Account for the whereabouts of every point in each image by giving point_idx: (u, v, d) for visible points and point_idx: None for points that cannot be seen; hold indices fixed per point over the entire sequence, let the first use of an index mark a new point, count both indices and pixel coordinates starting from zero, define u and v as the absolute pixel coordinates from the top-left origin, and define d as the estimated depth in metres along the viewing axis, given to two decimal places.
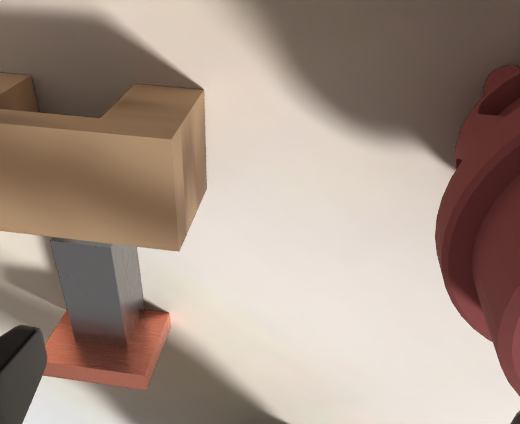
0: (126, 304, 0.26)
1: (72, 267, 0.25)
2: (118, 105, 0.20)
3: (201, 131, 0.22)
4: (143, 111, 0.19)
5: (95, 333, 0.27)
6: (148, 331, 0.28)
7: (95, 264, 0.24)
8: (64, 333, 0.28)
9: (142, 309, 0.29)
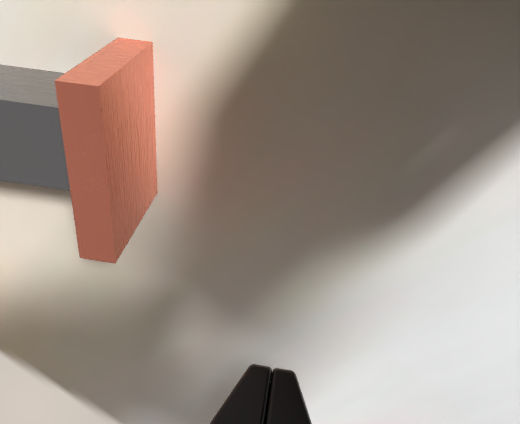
0: (15, 92, 0.16)
1: None
2: None
3: None
4: None
5: (65, 156, 0.16)
6: None
7: None
8: None
9: None
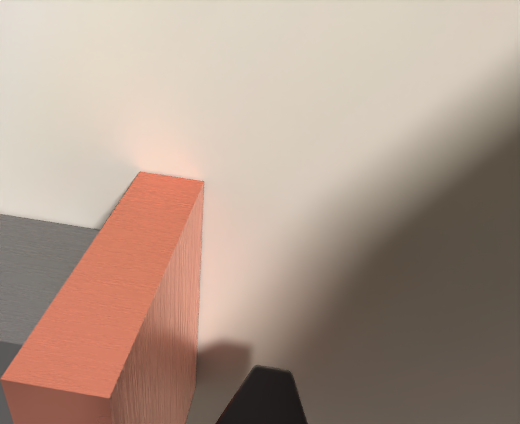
0: None
1: None
2: None
3: None
4: None
5: None
6: None
7: None
8: None
9: None
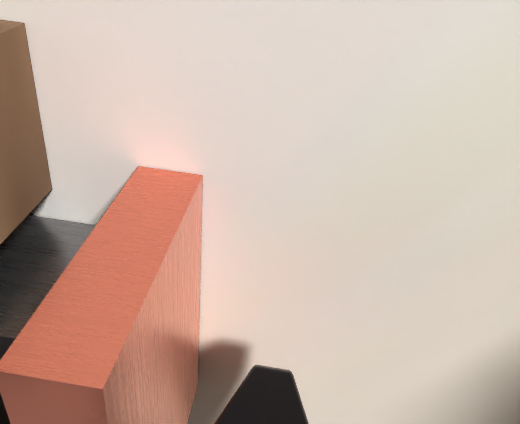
0: None
1: None
2: None
3: None
4: None
5: None
6: None
7: None
8: None
9: None
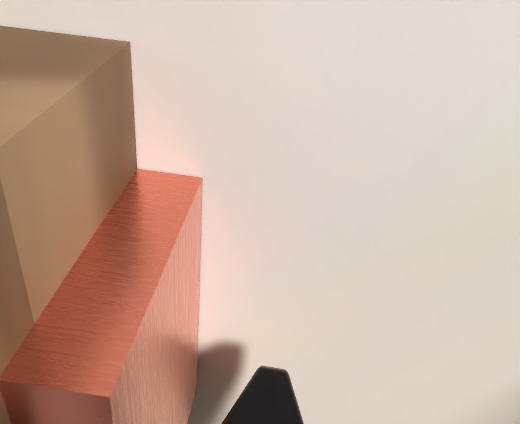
0: None
1: None
2: None
3: None
4: None
5: None
6: None
7: None
8: None
9: None
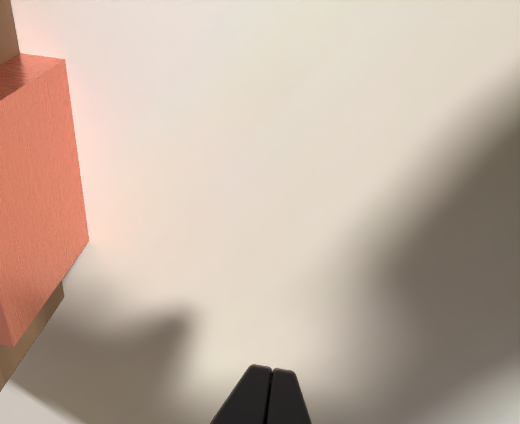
0: None
1: None
2: None
3: None
4: None
5: None
6: None
7: None
8: None
9: None
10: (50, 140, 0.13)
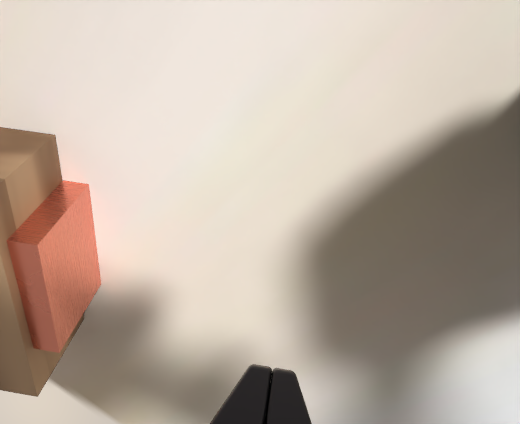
0: None
1: None
2: None
3: None
4: None
5: None
6: None
7: None
8: None
9: None
10: (80, 232, 0.22)
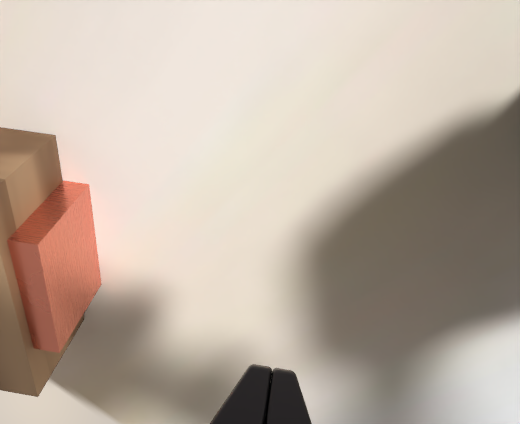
0: None
1: None
2: None
3: None
4: None
5: None
6: None
7: None
8: None
9: None
10: (80, 232, 0.22)
